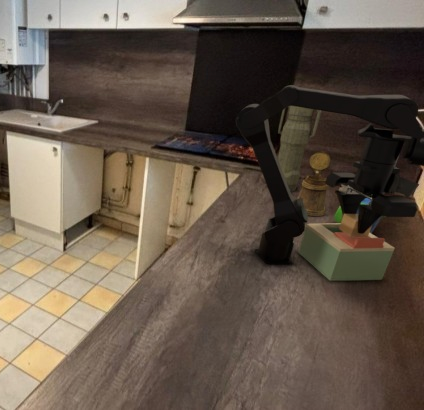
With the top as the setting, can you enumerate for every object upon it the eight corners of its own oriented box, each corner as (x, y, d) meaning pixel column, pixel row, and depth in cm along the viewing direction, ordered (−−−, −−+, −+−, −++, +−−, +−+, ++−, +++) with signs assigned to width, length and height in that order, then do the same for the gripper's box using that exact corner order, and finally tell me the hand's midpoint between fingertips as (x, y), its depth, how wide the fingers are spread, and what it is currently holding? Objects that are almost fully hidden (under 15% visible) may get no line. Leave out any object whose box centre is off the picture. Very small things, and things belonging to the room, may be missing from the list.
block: (350, 237, 77) (355, 221, 76) (338, 228, 81) (343, 213, 79) (367, 237, 77) (373, 221, 76) (355, 229, 81) (361, 213, 79)
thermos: (299, 194, 129) (326, 94, 116) (264, 188, 135) (285, 91, 121) (301, 187, 136) (326, 91, 122) (267, 181, 142) (288, 89, 128)
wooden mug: (323, 204, 122) (339, 152, 114) (324, 218, 111) (341, 162, 104) (294, 198, 126) (307, 148, 119) (292, 212, 115) (306, 158, 108)
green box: (329, 280, 81) (339, 251, 78) (298, 252, 92) (305, 226, 89) (382, 279, 81) (393, 251, 78) (344, 252, 92) (353, 225, 89)
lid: (339, 251, 78) (340, 248, 78) (305, 226, 89) (306, 223, 89) (393, 251, 78) (395, 247, 78) (353, 225, 89) (354, 223, 89)
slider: (353, 248, 78) (356, 239, 77) (333, 234, 83) (336, 226, 83) (383, 248, 78) (386, 239, 77) (361, 234, 84) (364, 225, 83)
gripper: (462, 175, 64) (428, 251, 70) (382, 148, 81) (360, 211, 87) (400, 175, 64) (371, 250, 70) (333, 148, 81) (314, 211, 87)
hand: (354, 228), depth 78 cm, fingers closed on block, 4 cm apart
